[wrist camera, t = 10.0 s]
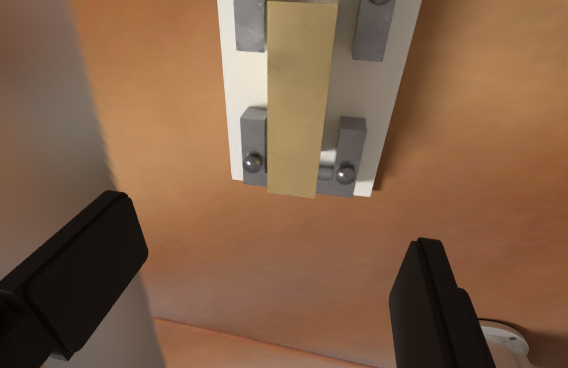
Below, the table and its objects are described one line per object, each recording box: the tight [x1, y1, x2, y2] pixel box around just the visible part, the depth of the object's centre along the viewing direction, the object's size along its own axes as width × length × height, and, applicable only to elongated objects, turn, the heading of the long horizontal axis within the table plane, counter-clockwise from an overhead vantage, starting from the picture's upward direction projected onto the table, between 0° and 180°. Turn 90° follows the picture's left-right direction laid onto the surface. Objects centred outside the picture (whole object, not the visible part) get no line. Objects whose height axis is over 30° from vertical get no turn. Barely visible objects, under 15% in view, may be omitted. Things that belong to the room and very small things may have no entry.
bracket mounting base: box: [233, 0, 396, 198], centre depth 22 cm, size 10×18×3 cm, turn 178°
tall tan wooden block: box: [267, 0, 340, 198], centre depth 21 cm, size 4×12×7 cm, turn 178°
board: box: [217, 0, 422, 197], centre depth 24 cm, size 14×21×1 cm, turn 178°
